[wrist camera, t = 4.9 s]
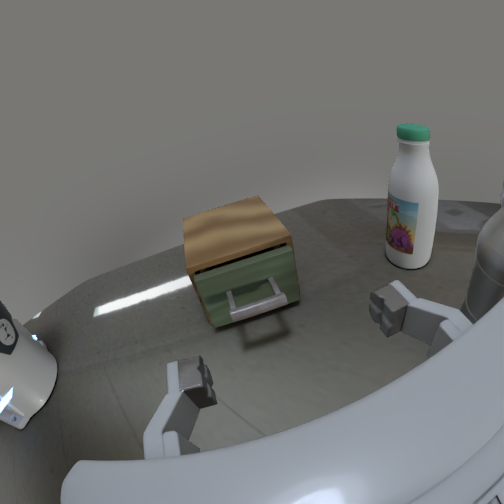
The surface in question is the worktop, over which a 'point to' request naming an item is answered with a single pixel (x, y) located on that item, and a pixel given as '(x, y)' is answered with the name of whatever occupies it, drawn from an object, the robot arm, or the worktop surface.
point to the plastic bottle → (487, 269)
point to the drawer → (248, 285)
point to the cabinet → (230, 235)
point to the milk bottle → (411, 200)
